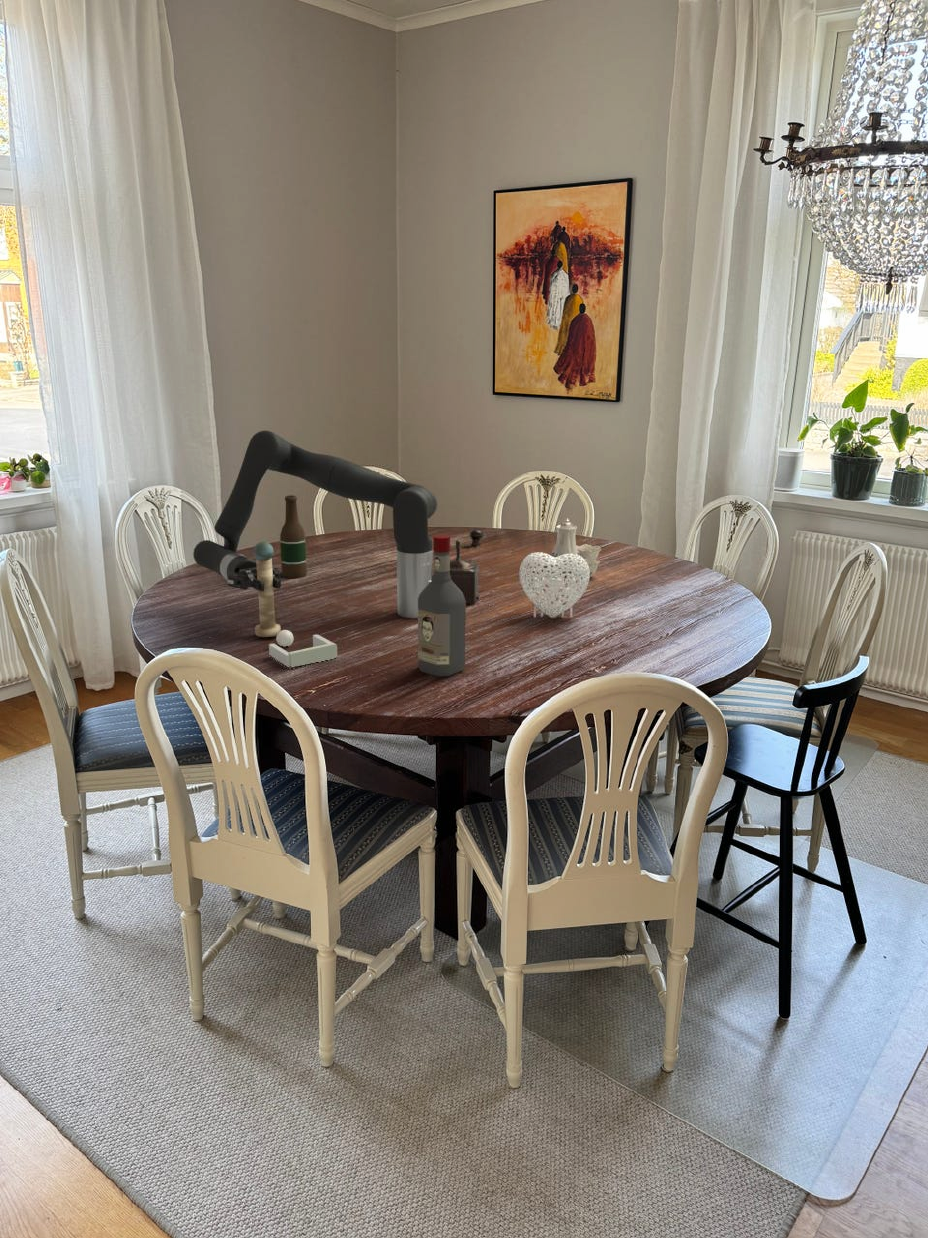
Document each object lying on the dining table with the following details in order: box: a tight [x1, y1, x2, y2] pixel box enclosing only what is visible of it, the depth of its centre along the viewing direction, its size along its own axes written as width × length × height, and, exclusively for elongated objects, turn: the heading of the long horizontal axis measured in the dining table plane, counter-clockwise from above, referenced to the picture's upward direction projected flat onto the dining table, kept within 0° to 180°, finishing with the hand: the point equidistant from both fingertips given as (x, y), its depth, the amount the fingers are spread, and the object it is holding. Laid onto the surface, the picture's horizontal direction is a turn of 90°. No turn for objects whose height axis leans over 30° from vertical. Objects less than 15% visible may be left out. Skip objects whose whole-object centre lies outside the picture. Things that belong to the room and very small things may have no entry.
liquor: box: [417, 534, 467, 678], centre depth 203 cm, size 9×9×30 cm
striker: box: [253, 541, 282, 638], centre depth 224 cm, size 6×6×23 cm
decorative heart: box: [518, 551, 591, 619], centre depth 242 cm, size 18×11×17 cm, turn 83°
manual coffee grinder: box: [450, 529, 484, 606], centre depth 259 cm, size 16×11×18 cm
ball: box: [275, 629, 294, 648], centre depth 220 cm, size 4×4×4 cm
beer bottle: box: [279, 494, 307, 579], centre depth 278 cm, size 8×8×24 cm
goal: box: [268, 634, 338, 667], centre depth 213 cm, size 10×12×4 cm
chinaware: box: [549, 517, 602, 580], centre depth 289 cm, size 28×17×17 cm, turn 176°
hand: (270, 585), depth 221 cm, fingers closed on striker, 3 cm apart
